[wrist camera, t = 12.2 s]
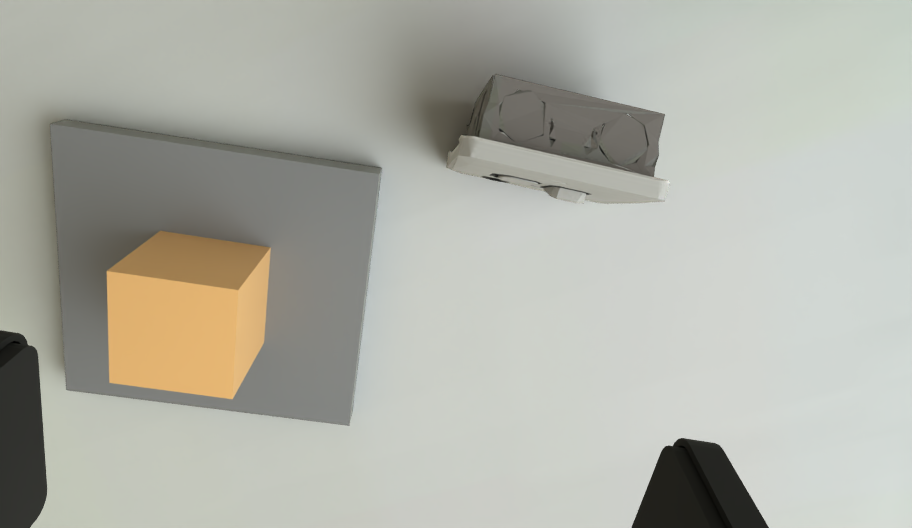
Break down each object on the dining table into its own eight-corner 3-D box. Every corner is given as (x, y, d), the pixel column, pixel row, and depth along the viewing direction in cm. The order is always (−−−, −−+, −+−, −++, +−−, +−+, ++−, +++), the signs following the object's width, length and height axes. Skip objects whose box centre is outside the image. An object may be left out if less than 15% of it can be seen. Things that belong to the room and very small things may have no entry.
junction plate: (65, 119, 35) (-15, 141, 29) (381, 168, 36) (369, 199, 30) (79, 377, 40) (14, 441, 34) (352, 411, 42) (336, 479, 36)
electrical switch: (443, 167, 36) (448, 194, 27) (464, 72, 35) (476, 68, 26) (604, 202, 37) (660, 240, 28) (630, 111, 36) (697, 121, 27)
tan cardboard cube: (160, 230, 36) (106, 270, 30) (270, 247, 36) (238, 290, 30) (159, 328, 38) (109, 382, 32) (263, 342, 38) (232, 399, 32)
